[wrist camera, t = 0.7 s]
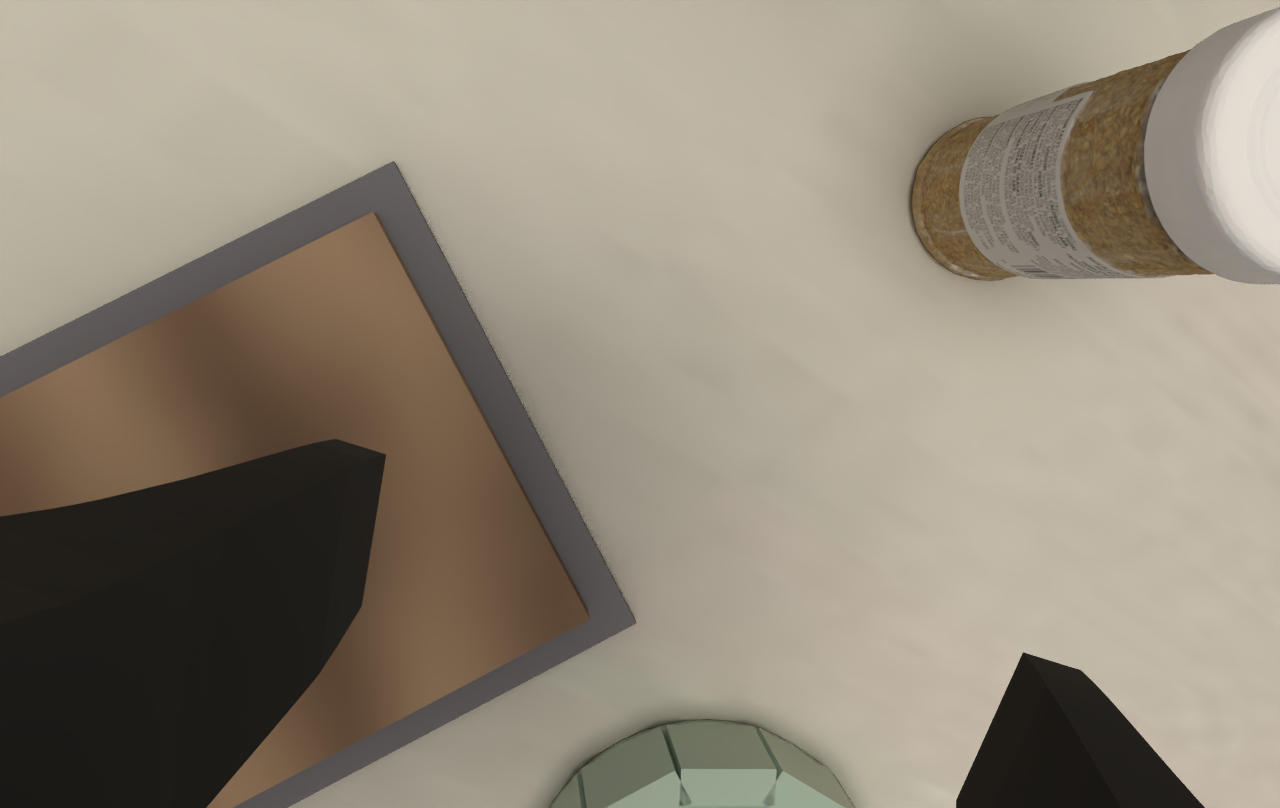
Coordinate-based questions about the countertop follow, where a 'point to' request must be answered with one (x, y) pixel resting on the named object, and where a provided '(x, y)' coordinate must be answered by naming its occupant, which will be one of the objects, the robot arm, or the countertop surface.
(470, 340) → the mat
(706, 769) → the bowl
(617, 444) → the countertop surface
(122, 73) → the countertop surface
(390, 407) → the lid
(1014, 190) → the sprinkles bottle
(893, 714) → the countertop surface
